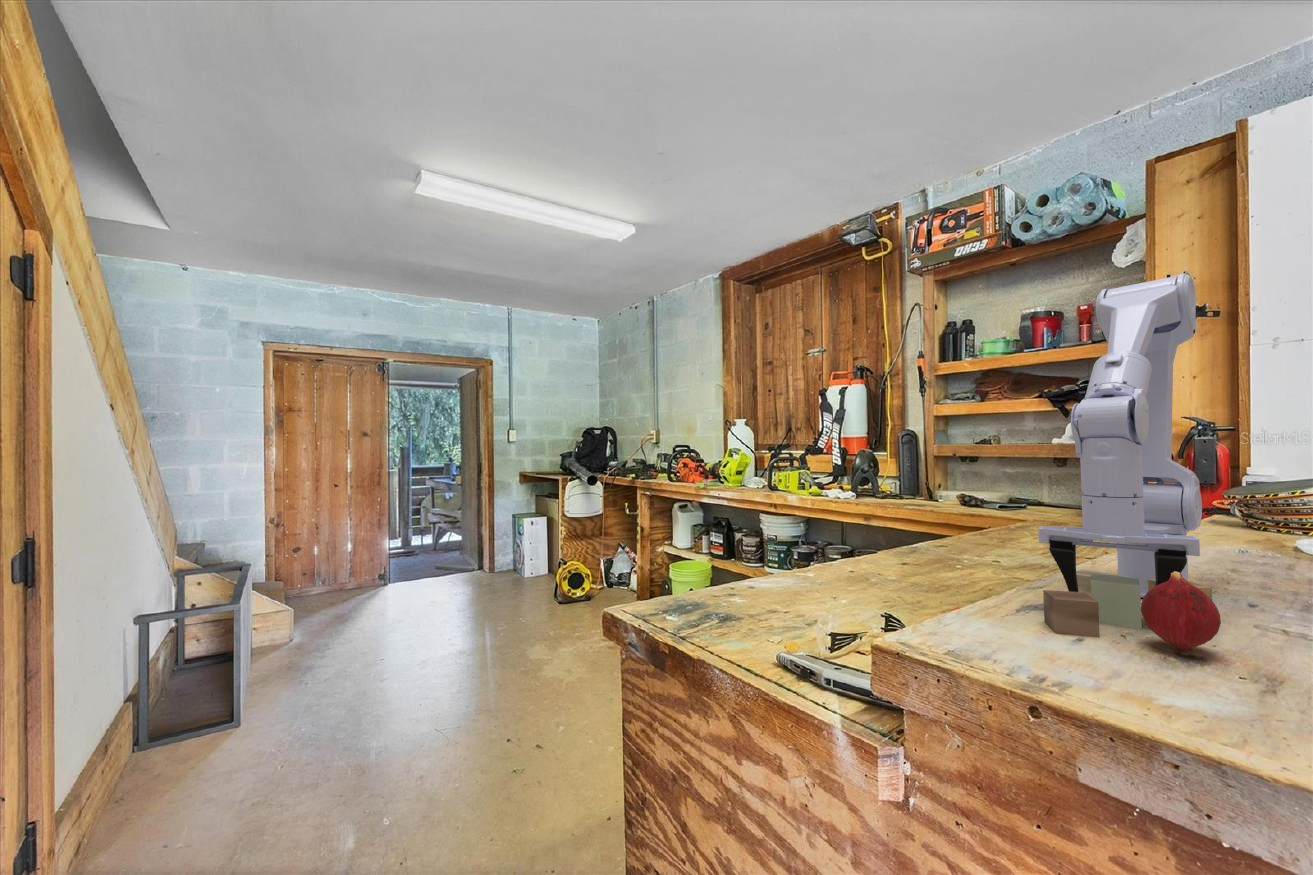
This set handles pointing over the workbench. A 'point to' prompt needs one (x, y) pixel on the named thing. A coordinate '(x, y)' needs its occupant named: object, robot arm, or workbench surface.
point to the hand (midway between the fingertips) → (1115, 608)
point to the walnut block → (1071, 613)
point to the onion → (1180, 613)
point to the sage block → (1117, 600)
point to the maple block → (1087, 580)
